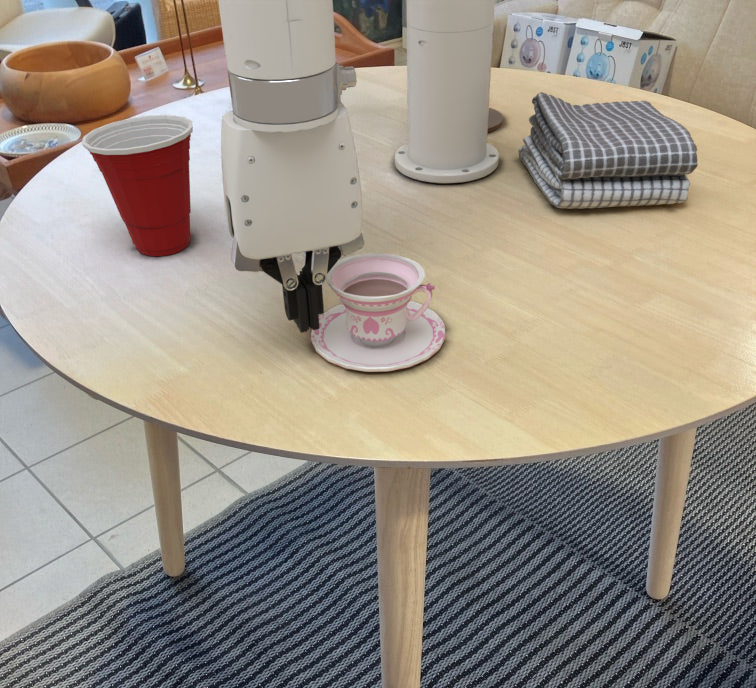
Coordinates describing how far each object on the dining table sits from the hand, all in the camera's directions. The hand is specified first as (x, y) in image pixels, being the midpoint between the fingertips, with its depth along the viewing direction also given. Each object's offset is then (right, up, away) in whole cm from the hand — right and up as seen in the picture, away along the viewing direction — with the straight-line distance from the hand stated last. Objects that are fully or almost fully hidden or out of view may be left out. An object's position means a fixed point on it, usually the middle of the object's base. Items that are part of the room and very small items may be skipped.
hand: (305, 323), depth 72 cm
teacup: (+6, -1, +4) cm, 7 cm away
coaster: (+18, +36, +42) cm, 58 cm away
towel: (+32, +22, +27) cm, 47 cm away
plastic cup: (-17, +12, +19) cm, 28 cm away
